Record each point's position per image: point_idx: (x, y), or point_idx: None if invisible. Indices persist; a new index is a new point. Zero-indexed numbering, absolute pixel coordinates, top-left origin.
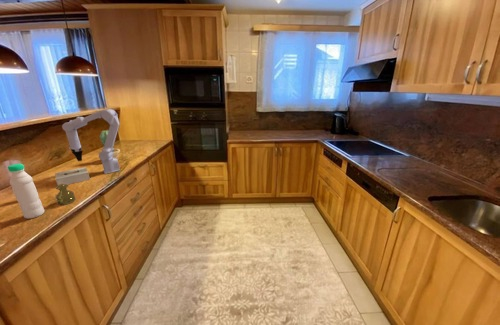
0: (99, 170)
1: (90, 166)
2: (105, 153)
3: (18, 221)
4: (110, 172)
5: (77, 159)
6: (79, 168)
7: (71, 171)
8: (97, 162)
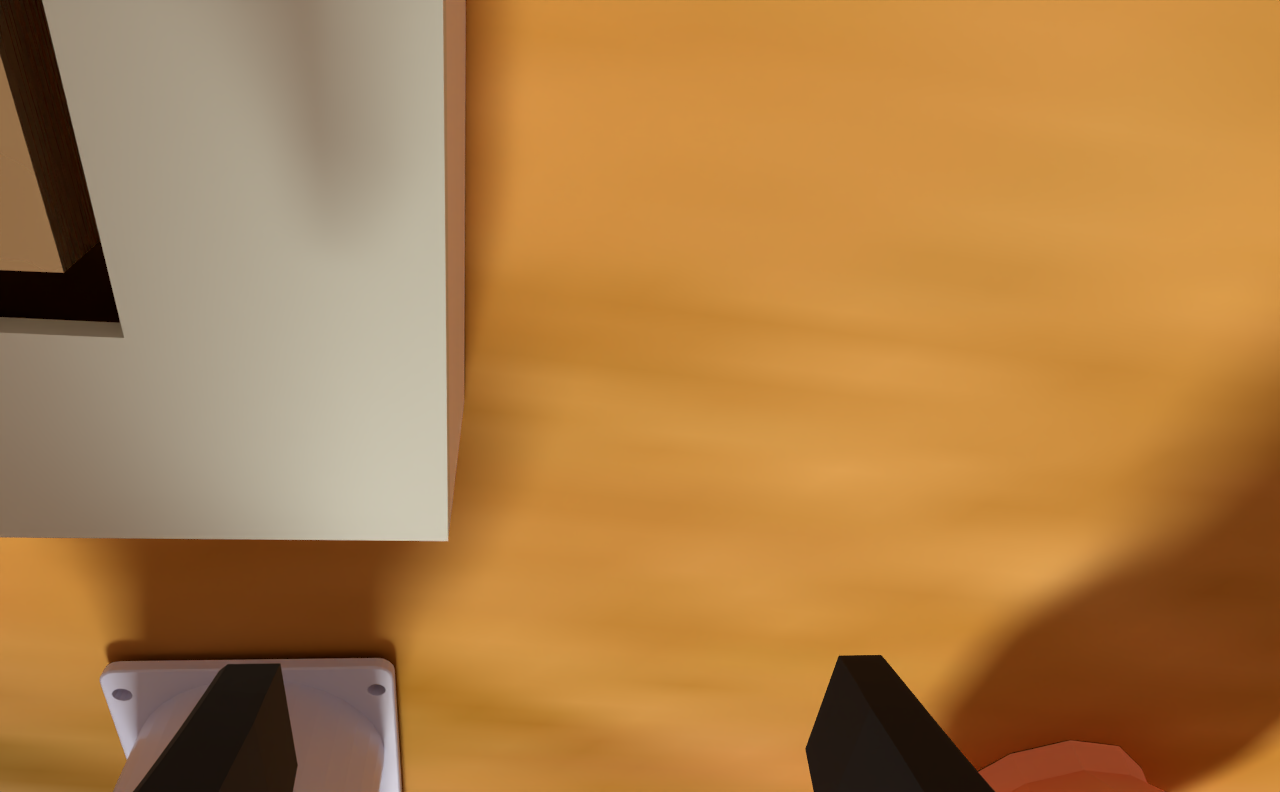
0: (528, 611)
1: (1051, 523)
2: None
3: None
4: (126, 740)
5: (153, 769)
6: (411, 393)
7: (148, 108)
8: (1193, 645)
